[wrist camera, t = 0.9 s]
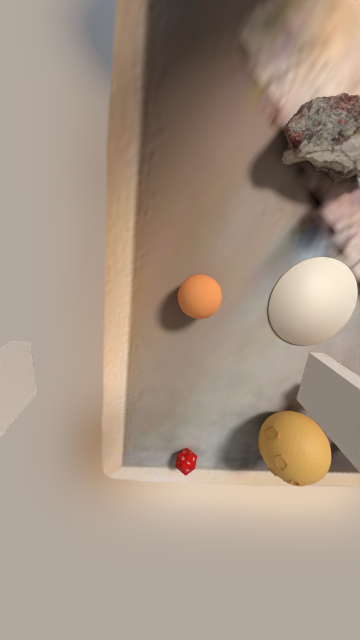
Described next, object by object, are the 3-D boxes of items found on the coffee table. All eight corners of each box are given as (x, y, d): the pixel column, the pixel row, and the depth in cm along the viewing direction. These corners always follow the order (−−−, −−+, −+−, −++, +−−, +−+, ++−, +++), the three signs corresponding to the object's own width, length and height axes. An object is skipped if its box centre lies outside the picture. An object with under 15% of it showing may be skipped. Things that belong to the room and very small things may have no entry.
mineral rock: (403, 129, 27) (447, 108, 23) (368, 201, 29) (402, 194, 25) (293, 77, 25) (319, 43, 20) (264, 160, 27) (282, 144, 23)
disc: (281, 252, 30) (281, 252, 30) (369, 262, 31) (371, 262, 31) (259, 341, 34) (259, 342, 34) (338, 347, 36) (339, 348, 35)
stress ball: (297, 392, 39) (276, 406, 32) (352, 445, 34) (343, 477, 26) (260, 426, 43) (234, 446, 36) (305, 478, 38) (285, 514, 30)
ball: (178, 269, 30) (182, 275, 25) (219, 274, 31) (231, 280, 25) (174, 309, 32) (176, 323, 26) (213, 313, 32) (222, 326, 27)
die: (179, 445, 38) (177, 474, 36) (199, 448, 39) (198, 476, 37) (175, 447, 41) (173, 474, 39) (193, 449, 42) (192, 476, 39)
